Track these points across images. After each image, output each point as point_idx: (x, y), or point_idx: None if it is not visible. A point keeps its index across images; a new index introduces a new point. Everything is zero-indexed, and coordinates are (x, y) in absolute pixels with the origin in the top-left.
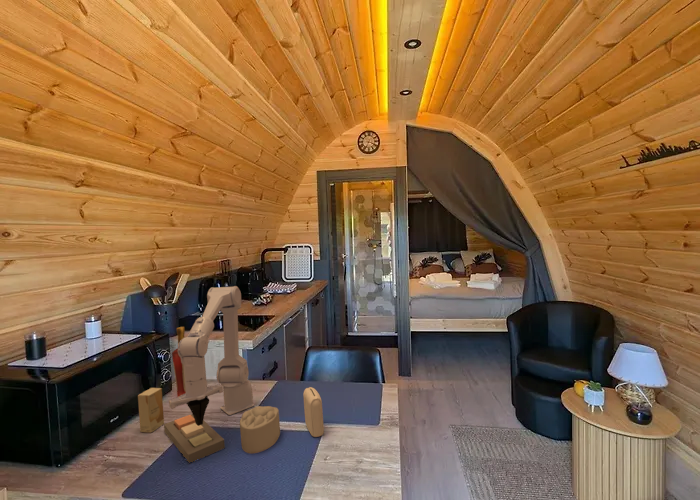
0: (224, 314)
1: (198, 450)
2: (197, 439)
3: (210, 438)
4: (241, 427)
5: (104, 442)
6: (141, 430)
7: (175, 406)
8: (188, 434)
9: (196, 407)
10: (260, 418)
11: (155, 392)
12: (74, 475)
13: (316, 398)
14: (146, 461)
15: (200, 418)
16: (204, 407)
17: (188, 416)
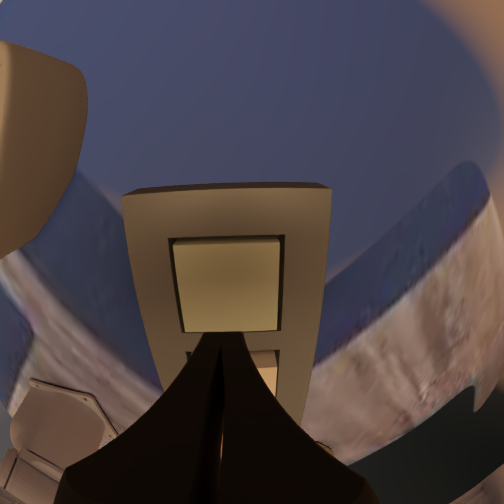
0: None
1: (276, 187)
2: (242, 301)
3: (180, 259)
4: (13, 104)
5: (392, 439)
6: (331, 452)
7: (478, 489)
8: (266, 362)
9: (287, 488)
10: None
11: None
12: (479, 354)
13: None
14: (403, 322)
15: (217, 368)
16: (147, 446)
17: (221, 453)
